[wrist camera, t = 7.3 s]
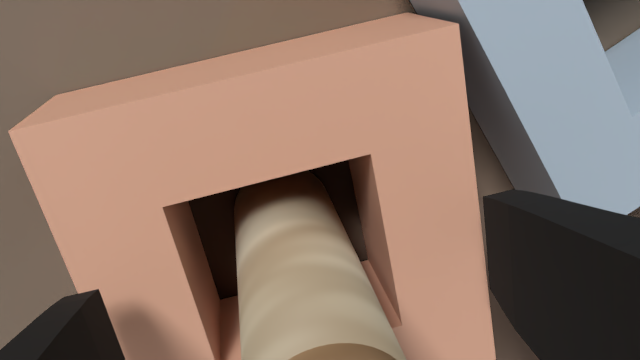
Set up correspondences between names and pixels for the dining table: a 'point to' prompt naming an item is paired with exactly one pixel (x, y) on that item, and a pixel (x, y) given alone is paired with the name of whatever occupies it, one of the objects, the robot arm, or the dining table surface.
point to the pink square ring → (265, 164)
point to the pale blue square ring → (552, 97)
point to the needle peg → (303, 278)
